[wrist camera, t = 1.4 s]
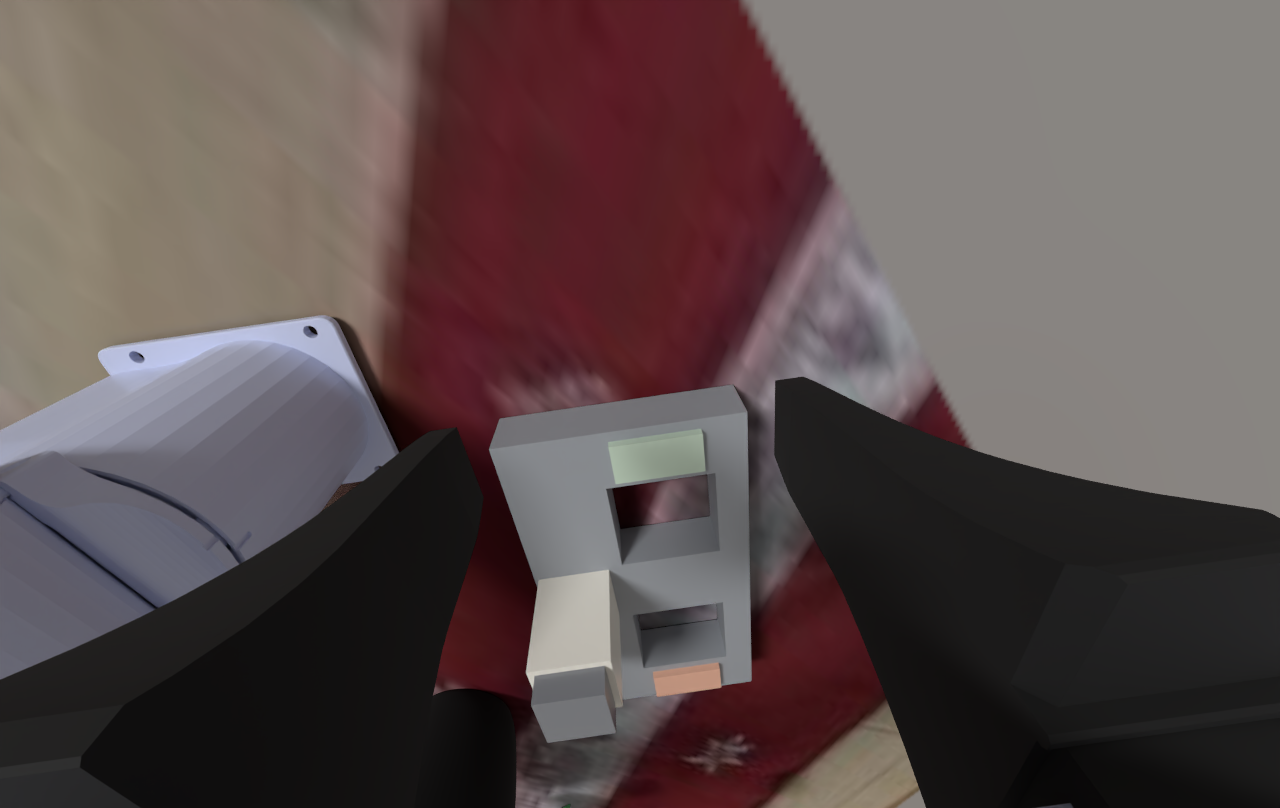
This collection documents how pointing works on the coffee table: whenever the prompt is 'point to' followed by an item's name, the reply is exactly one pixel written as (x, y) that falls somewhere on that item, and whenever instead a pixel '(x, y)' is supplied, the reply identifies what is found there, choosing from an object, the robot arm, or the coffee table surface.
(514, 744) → the mug
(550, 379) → the coffee table surface
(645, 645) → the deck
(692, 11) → the coffee table surface
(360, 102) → the coffee table surface
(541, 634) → the plug
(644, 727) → the coffee table surface
